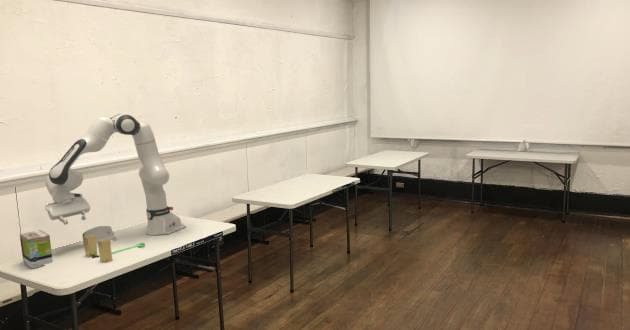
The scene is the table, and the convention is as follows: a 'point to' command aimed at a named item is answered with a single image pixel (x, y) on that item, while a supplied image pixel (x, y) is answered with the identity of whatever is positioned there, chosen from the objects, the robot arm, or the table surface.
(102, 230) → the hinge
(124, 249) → the wrench
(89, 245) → the wooden block
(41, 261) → the tea box
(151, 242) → the table surface
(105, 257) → the tan wooden block
